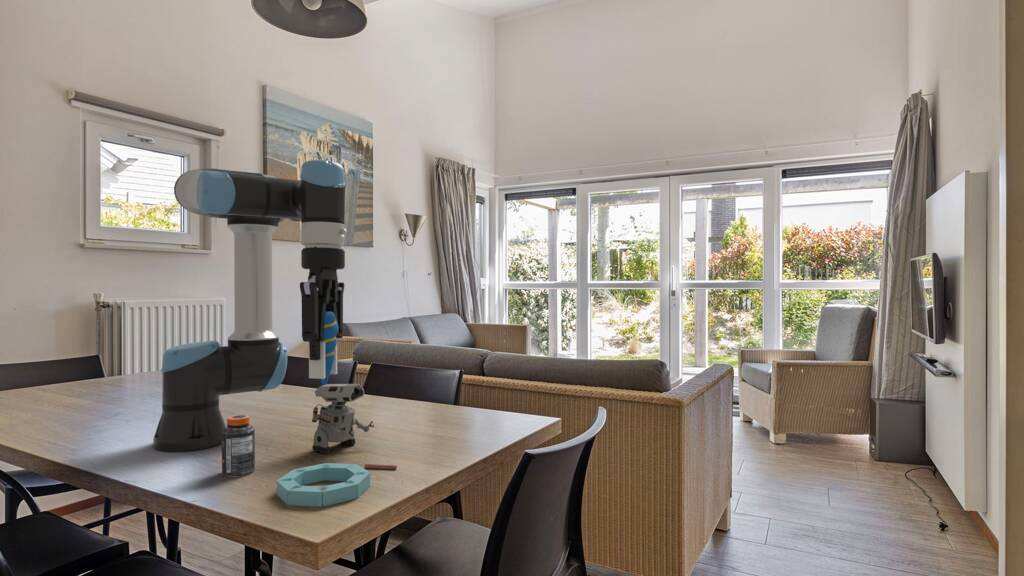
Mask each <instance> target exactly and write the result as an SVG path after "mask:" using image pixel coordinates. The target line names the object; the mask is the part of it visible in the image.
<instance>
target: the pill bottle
mask: <svg viewBox="0 0 1024 576" xmlns="http://www.w3.org/2000/svg"><path fill="white" fill-rule="evenodd" d="M255 433H256V431H255V428H254V426H253V425H250V415H249V414H235V415H230V416H228V417H227V418H226V428H225V429H224V430H223V431H222V443H221V474H222V476H223V477H226V478H238V477H239V478H240V477H246V476H248V475H251V474H252V473H254V472H255V471H256V470H255V469H256V438H255V435H256V434H255Z"/></svg>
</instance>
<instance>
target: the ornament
mask: <svg viewBox="0 0 1024 576" xmlns="http://www.w3.org/2000/svg"><path fill="white" fill-rule="evenodd" d="M338 328H339V327H338V323H337V320H336V318H335V314H334V313H333V312H331V311H325V316H324V332H323V340H322V341H325V378H324V379H320V382H321V385H322V386H323V385H326V384H328V381H329V378H330V375H331V374H330V373H331V370H332V365H333V362H334V357H335V354H334V350H335V347H336V344H337V345H338V338H336V335H337V332H338Z"/></svg>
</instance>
